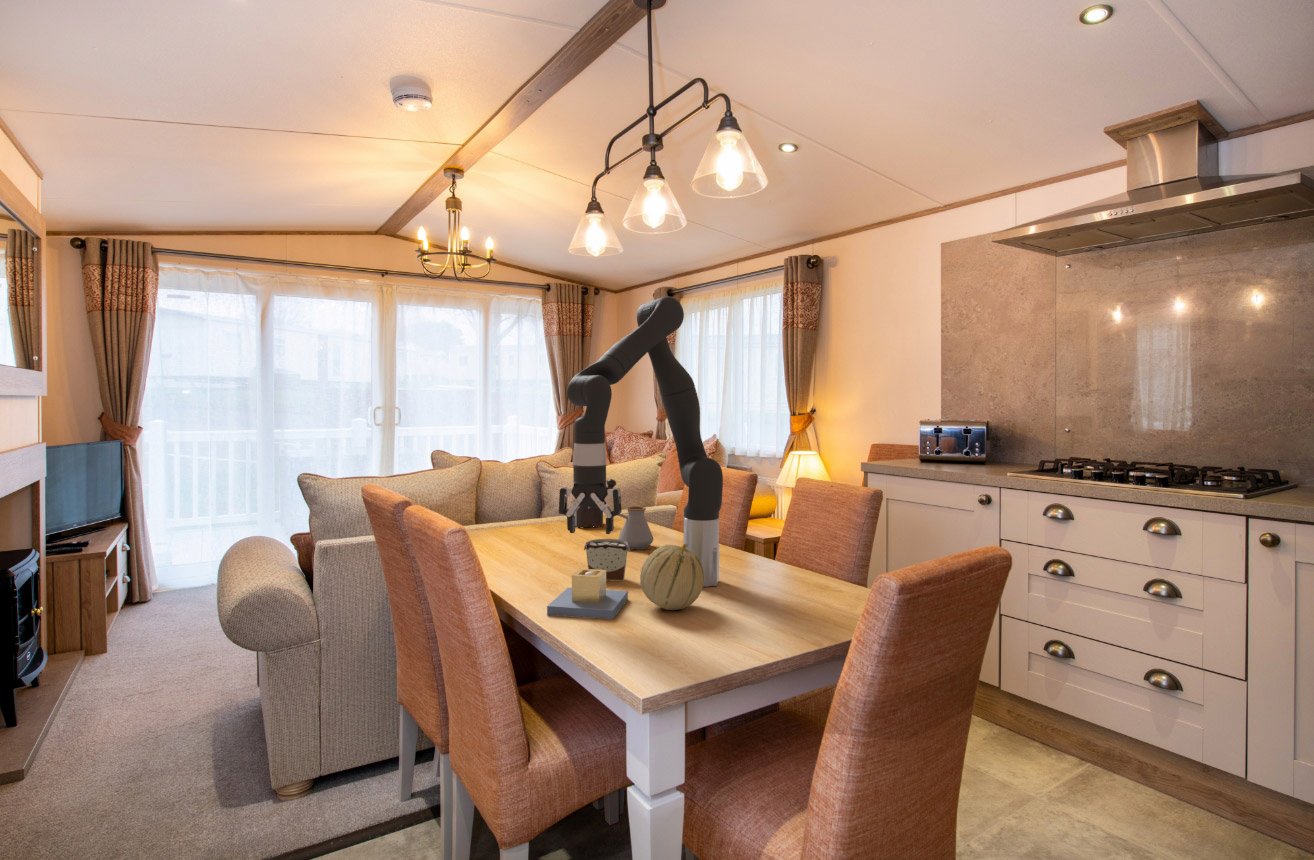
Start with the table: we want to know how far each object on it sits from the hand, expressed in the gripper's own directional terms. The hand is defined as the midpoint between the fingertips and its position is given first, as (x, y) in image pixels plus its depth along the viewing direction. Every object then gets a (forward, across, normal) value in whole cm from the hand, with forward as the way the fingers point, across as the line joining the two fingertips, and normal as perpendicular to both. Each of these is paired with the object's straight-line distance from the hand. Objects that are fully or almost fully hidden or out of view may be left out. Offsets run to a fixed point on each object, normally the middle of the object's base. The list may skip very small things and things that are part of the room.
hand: (590, 533), depth 153 cm
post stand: (+17, 0, 0) cm, 17 cm away
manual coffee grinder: (+18, +26, -98) cm, 103 cm away
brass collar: (+15, 0, 0) cm, 15 cm away
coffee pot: (+18, +7, -62) cm, 65 cm away
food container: (+18, +2, -26) cm, 32 cm away
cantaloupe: (+18, -18, -3) cm, 26 cm away
